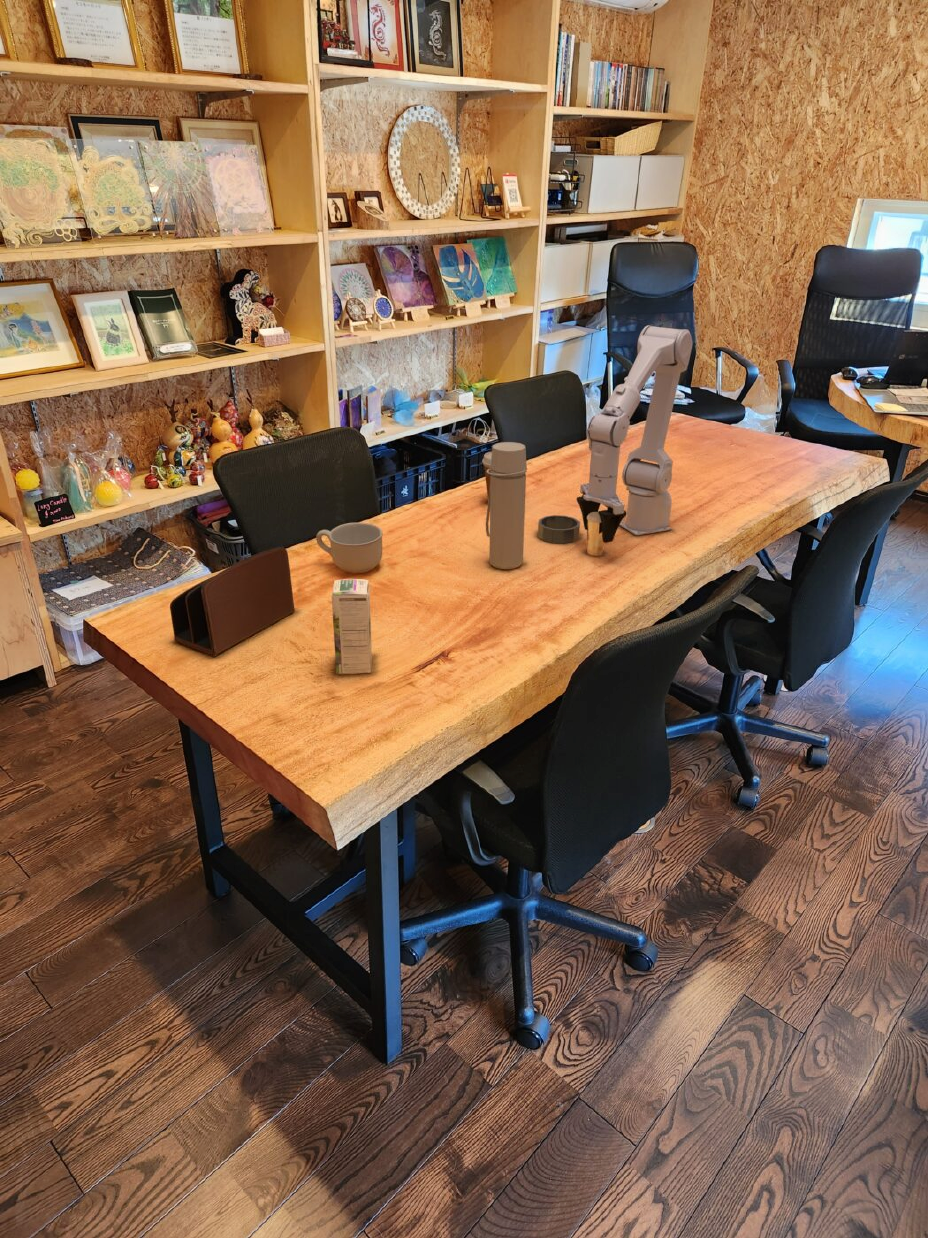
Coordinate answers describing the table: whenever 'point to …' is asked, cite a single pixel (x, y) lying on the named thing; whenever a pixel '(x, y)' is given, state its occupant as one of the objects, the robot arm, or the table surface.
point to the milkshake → (594, 534)
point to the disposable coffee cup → (487, 464)
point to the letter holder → (234, 603)
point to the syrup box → (352, 626)
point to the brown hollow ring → (558, 529)
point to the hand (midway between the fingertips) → (598, 535)
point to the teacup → (354, 546)
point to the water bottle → (507, 504)
